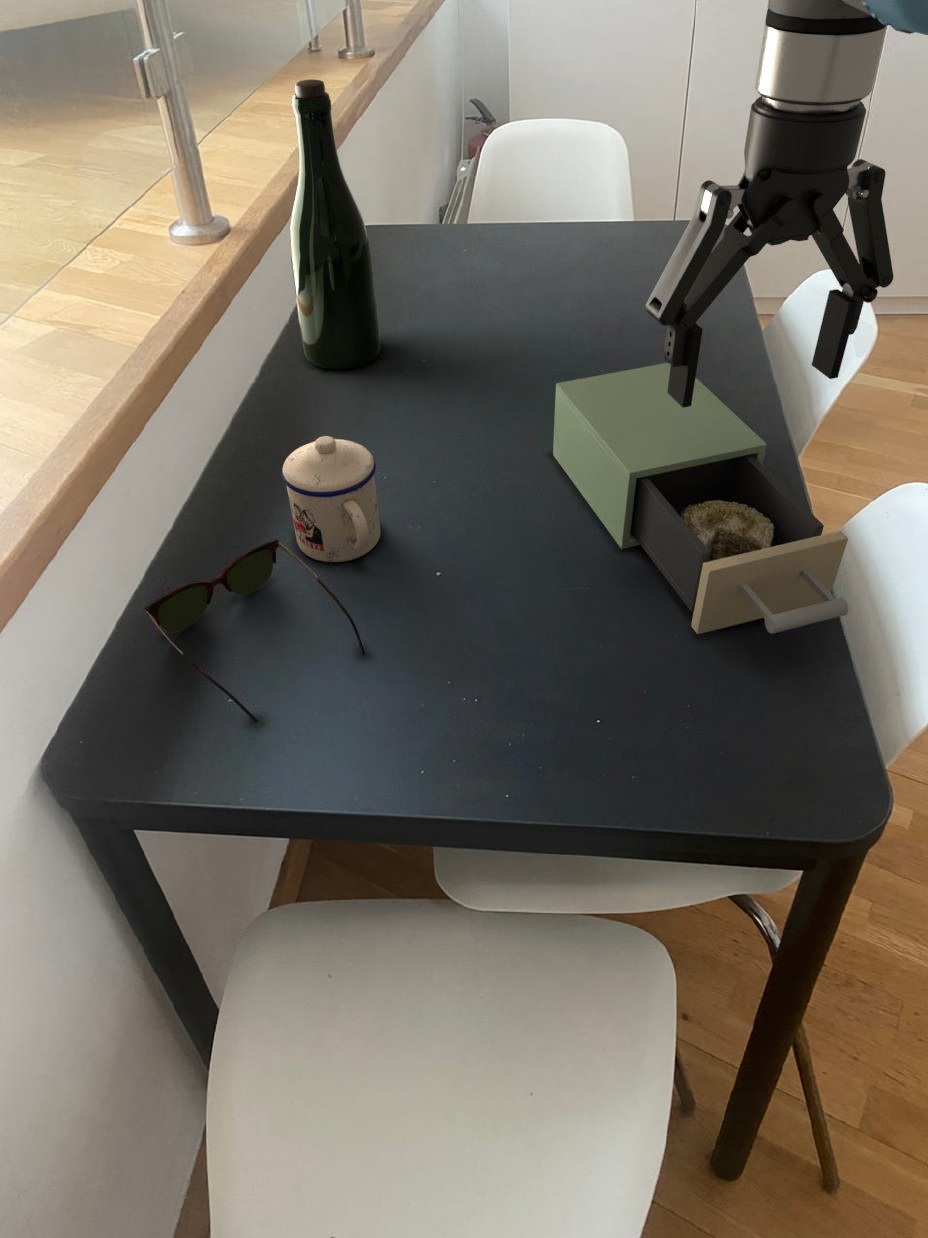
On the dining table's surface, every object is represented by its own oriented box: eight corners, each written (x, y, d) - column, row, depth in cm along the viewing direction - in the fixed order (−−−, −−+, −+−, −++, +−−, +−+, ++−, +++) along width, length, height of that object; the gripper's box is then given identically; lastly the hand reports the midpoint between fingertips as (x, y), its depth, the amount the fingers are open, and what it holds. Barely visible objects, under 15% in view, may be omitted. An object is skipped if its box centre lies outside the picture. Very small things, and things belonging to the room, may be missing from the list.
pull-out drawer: (866, 642, 80) (890, 578, 75) (730, 678, 78) (745, 614, 73) (731, 498, 97) (743, 437, 92) (614, 523, 94) (620, 463, 89)
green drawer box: (750, 520, 95) (767, 444, 89) (621, 549, 92) (629, 472, 86) (668, 431, 109) (677, 360, 102) (552, 455, 106) (555, 382, 99)
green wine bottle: (361, 377, 121) (329, 95, 99) (291, 365, 124) (244, 89, 101) (393, 342, 128) (370, 72, 106) (326, 332, 131) (290, 67, 109)
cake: (656, 530, 92) (662, 483, 89) (753, 524, 93) (763, 476, 89) (684, 588, 84) (691, 538, 81) (790, 580, 85) (802, 531, 81)
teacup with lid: (282, 529, 96) (262, 432, 89) (360, 502, 100) (348, 406, 92) (327, 593, 89) (310, 493, 81) (411, 562, 92) (402, 462, 84)
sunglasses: (283, 573, 91) (277, 534, 88) (378, 656, 84) (376, 618, 80) (153, 644, 84) (141, 605, 80) (244, 742, 77) (235, 704, 73)
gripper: (929, 68, 67) (855, 341, 82) (617, 105, 62) (596, 390, 76) (1003, 91, 62) (910, 379, 76) (668, 133, 57) (635, 434, 71)
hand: (753, 385), depth 76 cm, fingers open, 13 cm apart
